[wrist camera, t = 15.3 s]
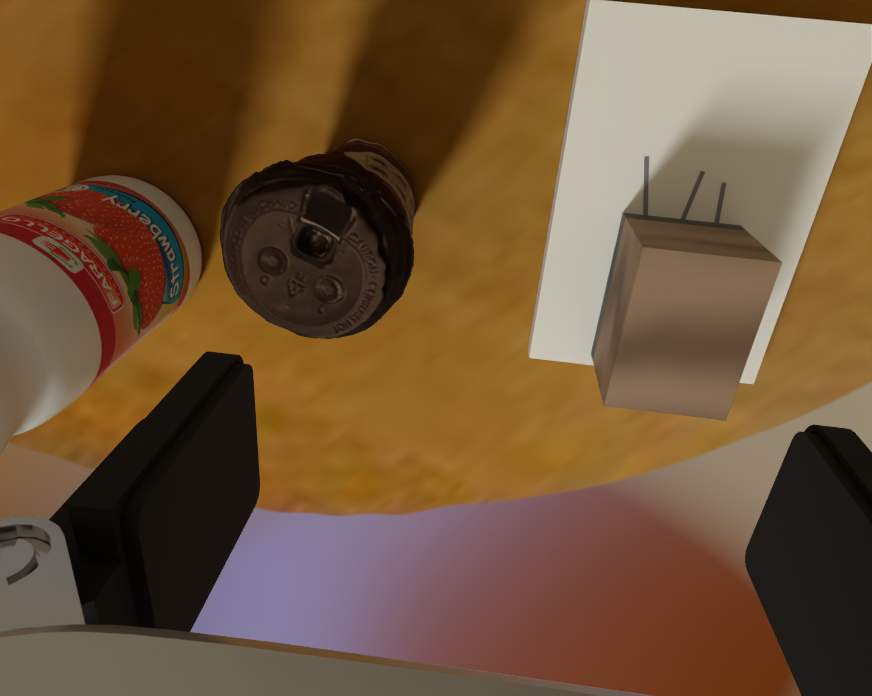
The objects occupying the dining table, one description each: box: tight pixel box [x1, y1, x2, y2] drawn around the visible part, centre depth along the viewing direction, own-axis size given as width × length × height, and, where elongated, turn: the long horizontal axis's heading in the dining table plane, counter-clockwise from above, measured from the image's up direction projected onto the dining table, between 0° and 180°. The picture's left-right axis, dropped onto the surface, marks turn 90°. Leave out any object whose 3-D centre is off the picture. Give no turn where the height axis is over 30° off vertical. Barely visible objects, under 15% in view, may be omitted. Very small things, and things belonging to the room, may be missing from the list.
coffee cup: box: [220, 139, 416, 339], centre depth 32 cm, size 9×8×13 cm
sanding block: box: [591, 213, 782, 421], centre depth 35 cm, size 9×6×6 cm
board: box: [528, 0, 872, 384], centre depth 36 cm, size 20×14×2 cm
